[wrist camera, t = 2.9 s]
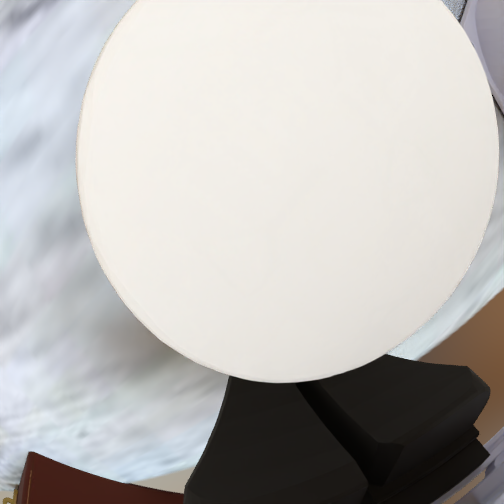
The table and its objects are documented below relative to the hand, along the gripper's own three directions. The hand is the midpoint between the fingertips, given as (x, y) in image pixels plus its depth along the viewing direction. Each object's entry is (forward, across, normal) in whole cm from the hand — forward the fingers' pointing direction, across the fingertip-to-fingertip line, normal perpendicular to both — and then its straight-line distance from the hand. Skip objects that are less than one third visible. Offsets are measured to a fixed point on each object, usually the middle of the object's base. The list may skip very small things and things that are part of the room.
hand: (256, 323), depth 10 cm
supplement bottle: (+2, 0, -6) cm, 6 cm away
